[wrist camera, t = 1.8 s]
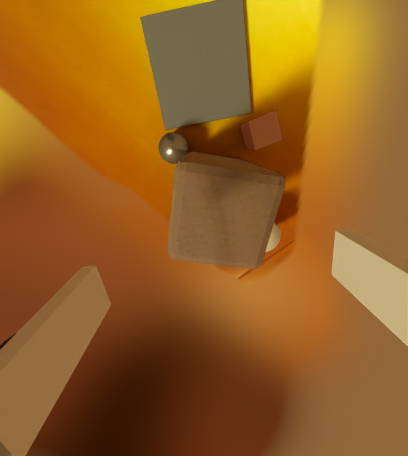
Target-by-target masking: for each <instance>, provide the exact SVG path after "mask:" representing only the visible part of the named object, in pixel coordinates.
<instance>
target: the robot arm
mask: <svg viewBox="0 0 408 456" xmlns="http://www.w3.org/2000/svg"><path fill="white" fill-rule="evenodd" d="M332 275H333V276H334V277H335V278H336V279H337V280H338V281H339V282H340V283H341V284H342V285H343V286H344V287H345V288H347V289H348V290H349V291H350V292H351V293H352V294H353V295H354V296H355V297H356V298H357V299H358V300H359V301H360V302H361V303H362V304H364V305H365V306H366V307H367V308H368V309H369V310H370V311H371V312H372V313H373V314H374V315H375V316H376V317H377V318H378V319H379V320H380V321H382V322H383V323H384V324H385V325H386V326H387V327H388V328H389V329H390V330H391V331H392V332H393V333H394V334H395V335H396V336H397V337H398V338H399V339H401V340H402V341H403V342H404V343H405V344H406V345H407V346H408V259H407V258H405V257H403V256H401V255H399V254H397V253H396V252H394V251H391V250H389V249H388V248H386V247H384V246H382V245H380V244H378V243H377V242H375V241H373V240H371V239H369V238H367V237H365V236H363V235H361V234H359V233H357V232H356V231H354V230H352V229H344V230H337V231H336V233H335V243H334V254H333V265H332ZM110 306H111V303H110V300H109V298H108V295H107V293H106V291H105V288H104V285H103V283H102V280H101V278H100V275H99V273H98V270H97V268H96V265H94V266H87V267H82V268H81V269H80V270H79V271H78V272H77V273H76V274H75V275H74V276H73V277H72V278H71V279H70V280H69V281H68V282H67V283H66V284H65V285H64V286H63V287H62V288H61V289H60V290H59V291H58V292H57V293H56V294H55V295H54V296H53V297H52V298H51V299H50V300H49V301H48V302H47V303H46V304H45V305H44V306H43V307H42V308H41V309H40V310H39V311H38V312H37V313H36V314H35V315H34V316H33V317H32V318H31V319H30V320H29V321H28V322H27V323H26V324H25V325H24V326H23V328H21V329H20V330H19V331H18V332H17V333H16V334H14V335H13V336H11V337H10V338H9V339H7V340H6V341H5V342H4V343H2V345H0V456H25V455H26V454H27V452H28V450H29V448H30V447H31V445H32V443H33V441H34V439H35V437H36V436H37V434H38V432H39V431H40V429H41V427H42V425H43V424H44V422H45V420H46V418H47V417H48V415H49V413H50V411H51V410H52V408H53V406H54V404H55V402H56V401H57V399H58V397H59V395H60V394H61V392H62V390H63V388H64V387H65V385H66V383H67V381H68V380H69V378H70V376H71V374H72V373H73V371H74V369H75V367H76V365H77V363H78V362H79V360H80V358H81V357H82V355H83V353H84V351H85V350H86V348H87V346H88V344H89V343H90V341H91V339H92V337H93V336H94V334H95V332H96V330H97V329H98V327H99V325H100V323H101V322H102V320H103V318H104V316H105V314H106V313H107V311H108V309H109V307H110Z"/></svg>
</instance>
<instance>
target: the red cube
mask: <svg viewBox="0 0 408 456" xmlns="http://www.w3.org/2000/svg"><path fill="white" fill-rule="evenodd" d="M240 127H241V130H242V134H243V138H244V142H245V146H246V149H247V150H258V149H261V148H263V147H266V146H269V145H271V144H274V143H276V142H279V141H282V135H281V130H280V125H279V120H278V115H277V110H276V111H273V112H270V113H268V114H265V115H263V116H260V117H258V118H255V119H253V120H250V121H248V122H246V123H243V124H241V125H240Z"/></svg>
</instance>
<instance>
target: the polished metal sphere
mask: <svg viewBox="0 0 408 456" xmlns="http://www.w3.org/2000/svg"><path fill="white" fill-rule="evenodd" d="M159 152H160V155H161V156H162V158H163V159H164V160H165V161H167V162H169V163H173V164H175V163H178V162H179V160H180V159H182V158H183V157H184V156H185V155H186V154H187V153H188V152H189V145H188V142H187V140H186V139H185V138H184V137H183V136H182V135H180V134H177V133H168V134H166V135H164V136H163V137H162V138H161V140H160V142H159Z"/></svg>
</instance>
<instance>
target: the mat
mask: <svg viewBox="0 0 408 456" xmlns="http://www.w3.org/2000/svg"><path fill="white" fill-rule="evenodd" d="M140 18H141V23H142V27H143V32H144V36H145V41H146V45H147V50H148V54H149V59H150V63H151V67H152V72H153V76H154V81H155V85H156V90H157V94H158V99H159V103H160V108H161V112H162V117H163V121H164V126H165V130H168V129H173V128H178V127H183V126H188V125H194V124H199V123H204V122H209V121H214V120H219V119H225V118H230V117H235V116H240V115H245V114H250V113H251V102H250V89H249V76H248V62H247V49H246V35H245V22H244V9H243V0H216V1H212V2H207V3H203V4H198V5H194V6H189V7H184V8H180V9H175V10H171V11H166V12H162V13H157V14H152V15H148V16H143V17H140Z"/></svg>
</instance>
